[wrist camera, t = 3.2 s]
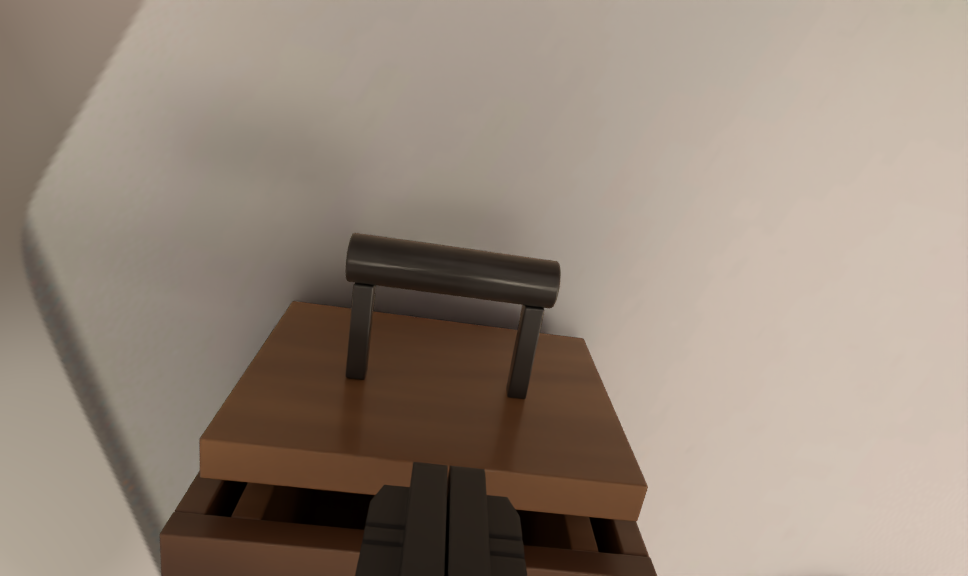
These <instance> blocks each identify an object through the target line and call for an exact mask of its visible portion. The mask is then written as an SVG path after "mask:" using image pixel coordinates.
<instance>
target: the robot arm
mask: <svg viewBox="0 0 968 576" xmlns="http://www.w3.org/2000/svg"><path fill="white" fill-rule="evenodd" d="M447 476H448V478H447ZM524 555H525V554H524V546H523V541H522V530H521V522H520V516H519V514H518V513H517V511H516V510H515V508H514V507H513V505H512V503H511V502H510V500H509V499H508V497H502V496H492V495H487V494H486V477H485V470H484V469H479V468H470V467H461V466H451V465H450V468H449V472H448V466H447V465H440V464H431V463H422V462H413V467H412V474H411V481H410V487H403V486H393V485H384V486H383V487H382V488H381V489H380V490H379V492H378V493H377V494H376V495H375V496H374V498H373V499H372V500H371V501H370V505H369V510H368V515H367V520H366V525H365V529H364V534H363V539H362V544H361V549H360V554H359V559H358V563H357V568H356V573H355V576H527V570H526V562H525V559H524Z"/></svg>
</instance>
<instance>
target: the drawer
mask: <svg viewBox="0 0 968 576" xmlns="http://www.w3.org/2000/svg"><path fill="white" fill-rule="evenodd" d="M345 274H346V280H347V281H349V282H355V283H354V285H353V295H352V306H351V308H343V307H335V306H328V305H320V304H312V303H304V302H297V301H292V303H291V304H290V306H289V307H288V309H287V310H286V312H285V313H284V315H283V316H282V318H281V319H280V321H279V322H278V324H277V325H276V326H275V328H274V329H273V331H272V332H271V334H270V335H269V337H268V338H267V340H266V341H265V343H264V344H263V346H262V347H261V349H260V350H259V352H258V353H257V355H256V356H255V358H254V359H253V360H252V362H251V363H250V365H249V366H248V368H247V369H246V371H245V372H244V374H243V375H242V377H241V378H240V380H239V381H238V383H237V384H236V386H235V387H234V389H233V390H232V392H231V393H230V395H229V396H228V397H227V399H226V400H225V402H224V403H223V405H222V406H221V408H220V409H219V411H218V412H217V414H216V415H215V417H214V418H213V420H212V421H211V423H210V424H209V426H208V427H207V429H206V430H205V431H204V433H203V434H202V436H201V437H200V477H201V478H210V479H220V480H229V481H239V482H248V483H247V485H246V487H245V489H244V491H243V493H242V495H241V497H240V499H239V501H238V503H237V505H236V507H235V509H234V512H233V514H232V516H231V517H235V518H246V519H256V520H266V521H277V522H287V523H298V524H308V525H319V526H329V527H340V528H350V529H360V530H364V529H365V525H366V520H367V515H368V510H369V505H370V501H371V500H372V499H373V498H374V496H375V495H376V494H377V493H378V492H379V490H380V489H381V488H382V487H383V486H384V485H393V486H403V487H410V481H411V474H412V467H413V462H422V463H431V464H440V465H447V466H448V472H449V468H450V465H451V466H461V467H470V468H479V469H484V470H485V477H486V494H487V495H492V496H502V497H508V499H509V500H510V502H511V503H512V505H513V507H514V508H515V510H516V511H517V513H518V514H519V516H520V522H521V530H522V541H523V545H528V546H538V547H548V548H559V549H569V550H580V551H590V552H599V551H598V548H597V544H596V540H595V537H594V533H593V530H592V526H591V522H590V519H589V517H595V518H605V519H615V520H625V521H635V522H636V521H637V520H638V517H639V514H640V510H641V507H642V504H643V501H644V498H645V495H646V491H647V488H648V486H647V483H646V481H645V479H644V477H643V474H642V472H641V470H640V467H639V465H638V463H637V460H636V458H635V456H634V454H633V451H632V449H631V447H630V444H629V442H628V440H627V438H626V435H625V433H624V431H623V428H622V426H621V424H620V421H619V419H618V417H617V415H616V412H615V410H614V408H613V405H612V403H611V401H610V398H609V396H608V394H607V392H606V389H605V387H604V385H603V382H602V380H601V378H600V376H599V373H598V371H597V369H596V366H595V364H594V362H593V359H592V357H591V355H590V353H589V350H588V348H587V346H586V343H585V341H584V339H583V338H575V337H567V336H560V335H552V334H544V333H540V329H541V325H542V320H543V315H544V308H552V307H553V306H554V304H555V302H556V300H557V296H558V292H559V287H560V276H561V272H560V265H559V263H558V262H557V261H551V260H544V259H537V258H530V257H523V256H516V255H509V254H502V253H495V252H487V251H480V250H473V249H466V248H459V247H452V246H445V245H438V244H431V243H424V242H417V241H409V240H402V239H395V238H388V237H381V236H374V235H367V234H360V233H353V234H352V236H351V238H350V241H349V246H348V251H347V258H346V269H345ZM376 285H378V286H386V287H393V288H401V289H408V290H416V291H423V292H431V293H438V294H446V295H453V296H461V297H468V298H476V299H483V300H491V301H498V302H506V303H513V304H521V305H522V310H521V315H520V320H519V325H518V330H513V329H505V328H498V327H490V326H482V325H475V324H467V323H459V322H451V321H444V320H436V319H428V318H420V317H413V316H405V315H397V314H389V313H382V312H374V301H375V291H376ZM447 478H448V476H447Z"/></svg>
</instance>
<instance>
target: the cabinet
mask: <svg viewBox="0 0 968 576" xmlns="http://www.w3.org/2000/svg"><path fill="white" fill-rule="evenodd" d="M247 483H248V482H239V481H229V480H220V479H210V478H201V477H200V471H199V473H198V474H197V476H196V477H195V479H194V481H193V482H192V484H191V485H190V487H189V489H188V490H187V492H186V493H185V495H184V497H183V498H182V500H181V501H180V503H179V505H178V506H177V508H176V509H175V512H173V514H172V515H171V517H170V518H169V520H168V522H167V523H166V525H165V526H164V528H163V530H162V531H161V533H160V553H161V576H355V573H356V568H357V563H358V559H359V554H360V549H361V544H362V539H363V534H364V530H360V529H350V528H340V527H329V526H319V525H308V524H298V523H287V522H277V521H266V520H256V519H246V518H235V517H231V516H232V514H233V512H234V509H235V507H236V505H237V503H238V501H239V499H240V497H241V495H242V493H243V491H244V489H245V487H246V485H247ZM589 519H590V522H591V526H592V530H593V533H594V537H595V540H596V544H597V548H598V551H599V552H590V551H580V550H569V549H559V548H548V547H538V546H528V545H523V546H524V554H525V555H524V559H525V562H526V570H527V576H657V574H656V571H655V569H654V566H653V564H652V561H651V558H650V557H649V555H648V552H647V549H646V547H645V544H644V541H643V539H642V536H641V533H640V531H639V528H638V526H637V523H636V522H635V521H625V520H615V519H605V518H595V517H589Z"/></svg>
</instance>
